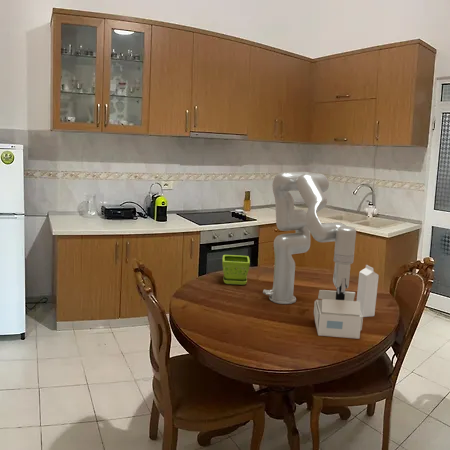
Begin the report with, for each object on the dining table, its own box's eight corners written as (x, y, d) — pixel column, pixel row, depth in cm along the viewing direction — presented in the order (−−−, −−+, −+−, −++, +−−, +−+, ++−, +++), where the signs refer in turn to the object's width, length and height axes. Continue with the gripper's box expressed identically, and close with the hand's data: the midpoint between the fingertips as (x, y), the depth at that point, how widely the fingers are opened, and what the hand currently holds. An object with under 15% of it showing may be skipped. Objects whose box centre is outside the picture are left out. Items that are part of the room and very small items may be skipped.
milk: (362, 317, 214) (367, 268, 209) (355, 312, 220) (359, 264, 215) (374, 316, 216) (379, 268, 211) (367, 311, 221) (371, 264, 217)
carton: (316, 335, 193) (318, 313, 191) (312, 319, 209) (314, 299, 207) (361, 338, 192) (363, 317, 190) (354, 322, 207) (356, 302, 205)
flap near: (321, 312, 191) (321, 312, 191) (322, 298, 193) (322, 298, 193) (359, 315, 190) (360, 314, 190) (359, 301, 192) (360, 301, 191)
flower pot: (248, 286, 248) (250, 262, 245) (221, 285, 248) (222, 261, 245) (247, 278, 261) (249, 255, 259) (221, 277, 261) (222, 254, 259)
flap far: (353, 301, 205) (353, 300, 205) (355, 292, 202) (355, 292, 202) (318, 298, 206) (318, 297, 207) (319, 290, 203) (319, 289, 203)
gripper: (331, 252, 199) (327, 295, 203) (336, 262, 185) (332, 308, 188) (350, 253, 199) (346, 296, 202) (356, 263, 184) (352, 310, 188)
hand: (339, 302), depth 195 cm, fingers closed
